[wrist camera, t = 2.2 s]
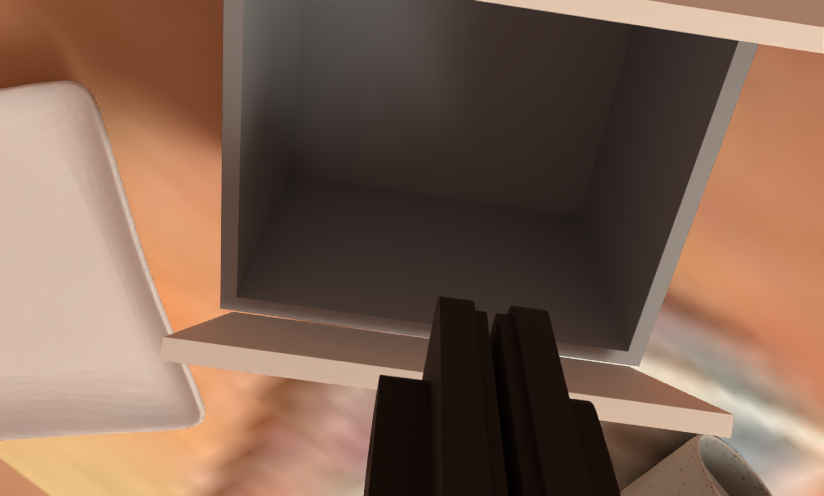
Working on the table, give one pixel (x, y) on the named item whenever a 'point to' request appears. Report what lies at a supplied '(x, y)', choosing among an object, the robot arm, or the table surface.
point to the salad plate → (76, 282)
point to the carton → (464, 163)
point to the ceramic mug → (700, 473)
